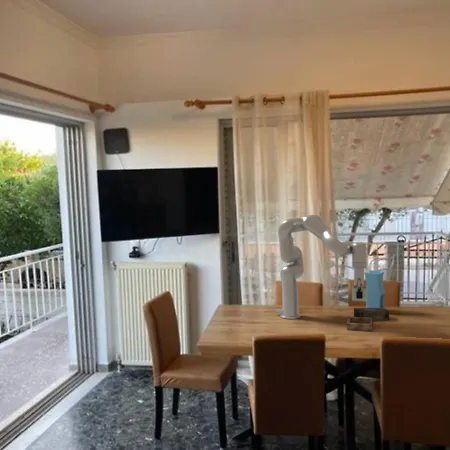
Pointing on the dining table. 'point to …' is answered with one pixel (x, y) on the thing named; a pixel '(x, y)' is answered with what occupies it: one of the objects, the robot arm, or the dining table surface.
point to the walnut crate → (359, 324)
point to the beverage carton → (372, 313)
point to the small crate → (354, 289)
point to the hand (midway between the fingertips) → (359, 296)
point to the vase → (375, 289)
